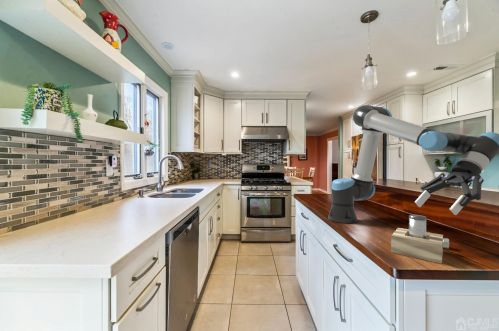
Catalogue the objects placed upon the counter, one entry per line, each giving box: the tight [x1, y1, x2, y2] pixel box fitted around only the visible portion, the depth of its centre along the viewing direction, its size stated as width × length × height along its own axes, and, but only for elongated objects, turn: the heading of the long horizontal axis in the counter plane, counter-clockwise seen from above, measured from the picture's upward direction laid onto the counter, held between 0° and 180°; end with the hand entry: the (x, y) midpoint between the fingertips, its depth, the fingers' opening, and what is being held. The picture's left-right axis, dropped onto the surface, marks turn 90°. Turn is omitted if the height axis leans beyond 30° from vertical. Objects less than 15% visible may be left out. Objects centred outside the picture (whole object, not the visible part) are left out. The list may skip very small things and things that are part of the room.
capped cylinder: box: [408, 214, 427, 239], centre depth 83 cm, size 5×5×12 cm
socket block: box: [390, 227, 444, 264], centre depth 83 cm, size 14×14×6 cm
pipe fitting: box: [443, 237, 450, 250], centre depth 90 cm, size 8×4×7 cm
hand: (433, 208), depth 83 cm, fingers open, 13 cm apart
